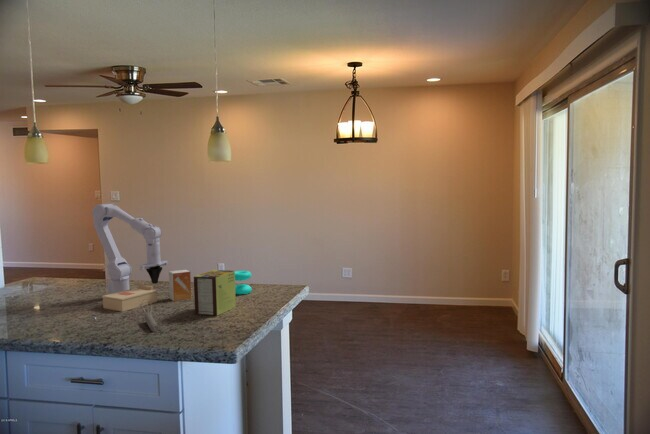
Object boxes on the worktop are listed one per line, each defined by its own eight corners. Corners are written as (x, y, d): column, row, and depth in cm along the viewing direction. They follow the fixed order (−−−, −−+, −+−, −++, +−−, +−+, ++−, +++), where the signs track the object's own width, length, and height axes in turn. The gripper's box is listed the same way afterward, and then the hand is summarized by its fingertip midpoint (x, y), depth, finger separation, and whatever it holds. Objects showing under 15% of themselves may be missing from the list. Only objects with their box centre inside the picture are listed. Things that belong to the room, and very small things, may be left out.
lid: (102, 297, 212) (101, 292, 212) (137, 288, 228) (137, 284, 228) (121, 300, 206) (121, 295, 206) (157, 291, 222) (157, 286, 222)
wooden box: (103, 309, 213) (102, 297, 212) (138, 300, 228) (137, 289, 228) (122, 312, 207) (122, 300, 206) (157, 303, 222) (156, 291, 222)
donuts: (232, 270, 244) (252, 270, 244) (232, 290, 245) (253, 290, 245) (227, 274, 234) (249, 273, 234) (228, 295, 235) (249, 295, 235)
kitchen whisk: (147, 335, 177) (146, 317, 176) (133, 314, 206) (132, 298, 206) (165, 332, 179) (164, 315, 179) (149, 312, 209) (148, 297, 209)
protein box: (236, 306, 214) (235, 270, 213) (217, 316, 199) (215, 277, 198) (214, 305, 217) (213, 269, 216) (194, 314, 203) (192, 276, 202)
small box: (173, 302, 223) (172, 273, 222) (169, 299, 228) (168, 271, 227) (191, 299, 227) (190, 271, 226) (187, 297, 233) (186, 269, 232)
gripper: (146, 256, 219) (148, 287, 220) (172, 251, 232) (173, 281, 233) (135, 255, 223) (137, 285, 224) (161, 250, 235) (162, 279, 236)
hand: (154, 283), depth 229 cm, fingers closed
